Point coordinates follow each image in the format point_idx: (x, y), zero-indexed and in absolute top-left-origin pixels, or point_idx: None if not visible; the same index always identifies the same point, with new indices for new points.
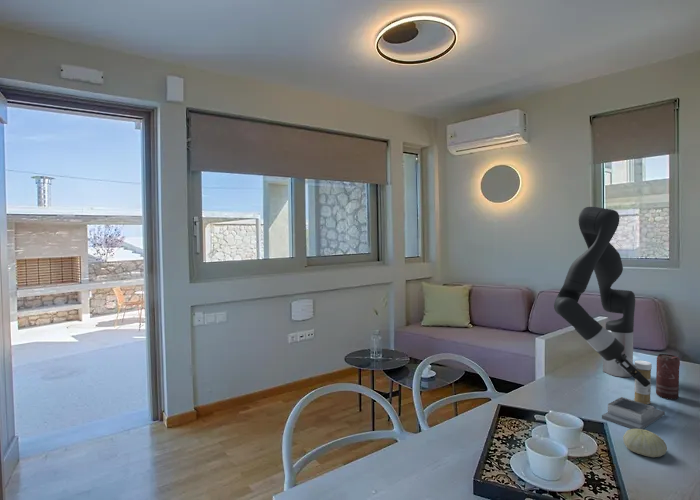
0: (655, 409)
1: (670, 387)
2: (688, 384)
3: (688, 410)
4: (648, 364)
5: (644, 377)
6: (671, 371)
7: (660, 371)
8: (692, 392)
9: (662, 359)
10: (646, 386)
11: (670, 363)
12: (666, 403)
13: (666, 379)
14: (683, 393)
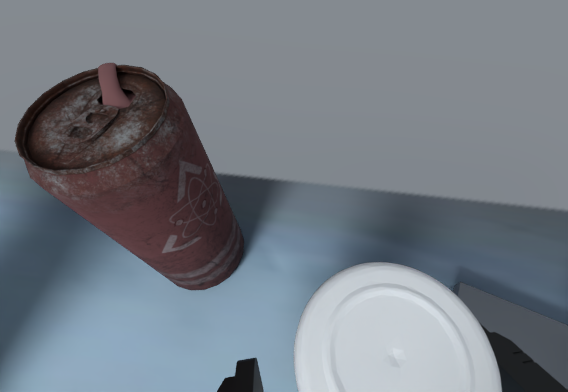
0: None
1: (233, 219)
2: None
3: (336, 200)
4: (452, 296)
5: (523, 365)
6: (208, 165)
7: (186, 224)
8: None
9: (151, 159)
10: None
11: (189, 131)
12: (297, 263)
13: (220, 216)
14: None
